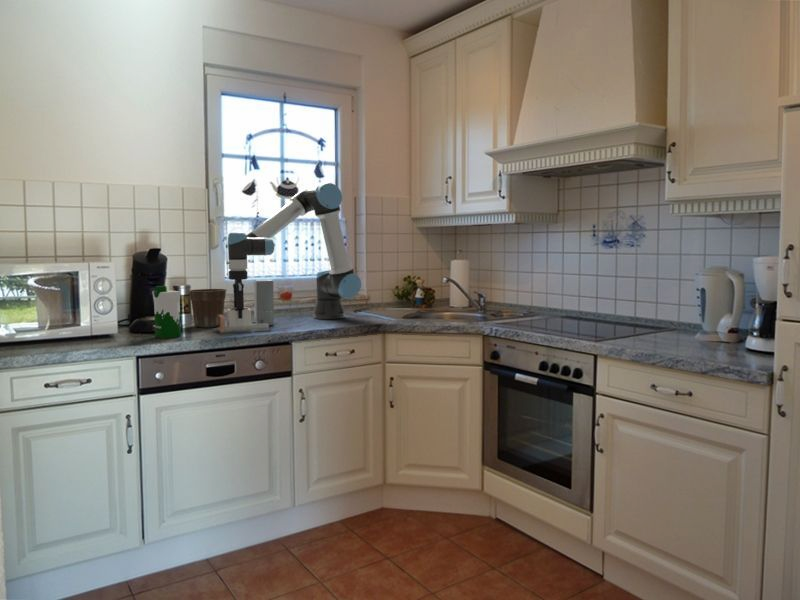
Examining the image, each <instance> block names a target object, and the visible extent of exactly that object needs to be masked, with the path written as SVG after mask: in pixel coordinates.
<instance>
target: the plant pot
mask: <svg viewBox="0 0 800 600" xmlns="http://www.w3.org/2000/svg"><path fill="white" fill-rule="evenodd" d="M227 291H228V290H227V288H201V289H199V288H198V289H197V288H196V289H190V290H188V292H189V298H190V301H191V307H192V316H193V323H194V325H193V326H194V327H195V328H216V327H218V315H219V314H222V315H223V317H224V315H225V302H226V301H225V300H226V296H227V295H226V294H227ZM224 318H225V317H224Z"/></svg>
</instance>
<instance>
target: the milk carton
mask: <svg viewBox="0 0 800 600" xmlns="http://www.w3.org/2000/svg"><path fill="white" fill-rule="evenodd" d="M167 289H168V288H167V286H165V285H159V286H157V285H156V286H155V290H153V291H152V299H153V306H154V308H153V309H154V311H153V312H154V337H155V338H158V339H163V340H165V339H175V338H181V337H182V330H181V306H180V305H181V303H180V300H181V291H179V290H167ZM180 336H181V337H180ZM174 337H175V338H174Z"/></svg>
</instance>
